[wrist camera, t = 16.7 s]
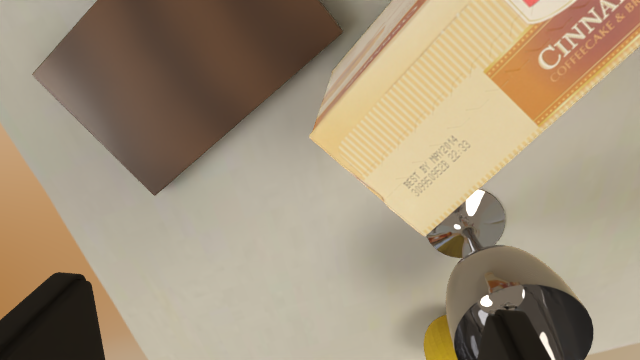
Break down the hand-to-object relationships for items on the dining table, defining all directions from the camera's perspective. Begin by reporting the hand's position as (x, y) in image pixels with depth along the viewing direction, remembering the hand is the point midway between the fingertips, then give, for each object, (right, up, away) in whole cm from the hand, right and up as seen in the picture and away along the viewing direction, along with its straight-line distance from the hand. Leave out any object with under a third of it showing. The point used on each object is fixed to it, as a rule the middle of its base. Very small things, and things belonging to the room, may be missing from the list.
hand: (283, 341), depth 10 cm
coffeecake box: (+9, +16, +24) cm, 30 cm away
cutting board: (-10, +14, +26) cm, 31 cm away
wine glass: (+14, 0, +30) cm, 33 cm away
